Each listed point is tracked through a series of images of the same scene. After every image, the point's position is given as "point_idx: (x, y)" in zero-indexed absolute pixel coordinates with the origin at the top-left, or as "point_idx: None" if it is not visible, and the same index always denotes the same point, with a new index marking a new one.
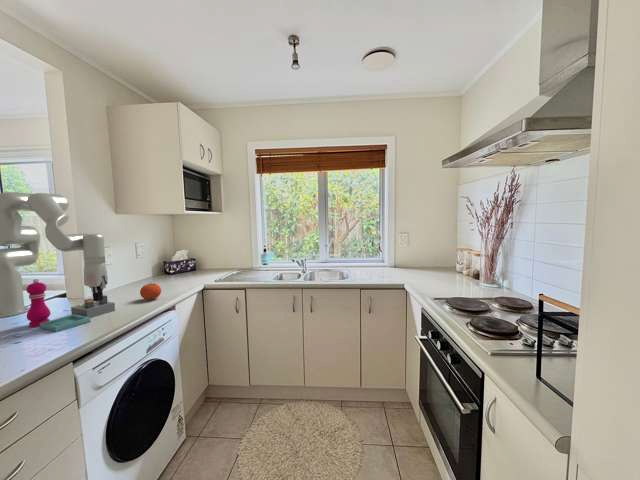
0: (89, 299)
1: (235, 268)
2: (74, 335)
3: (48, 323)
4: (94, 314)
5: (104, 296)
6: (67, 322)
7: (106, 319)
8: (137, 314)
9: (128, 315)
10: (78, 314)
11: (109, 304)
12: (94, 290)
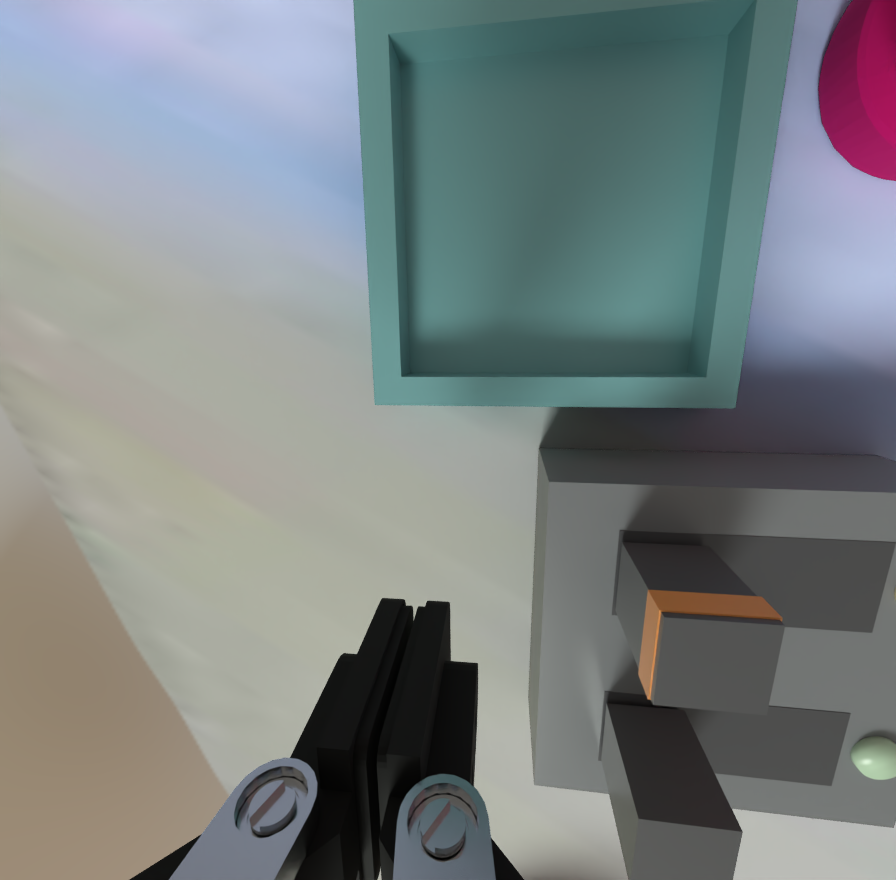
0: (699, 668)
1: None
2: (102, 96)
3: (733, 74)
4: (538, 529)
5: (632, 850)
6: (584, 261)
7: (322, 501)
8: (212, 671)
9: (255, 634)
10: (729, 460)
11: (535, 730)
12: (401, 869)
